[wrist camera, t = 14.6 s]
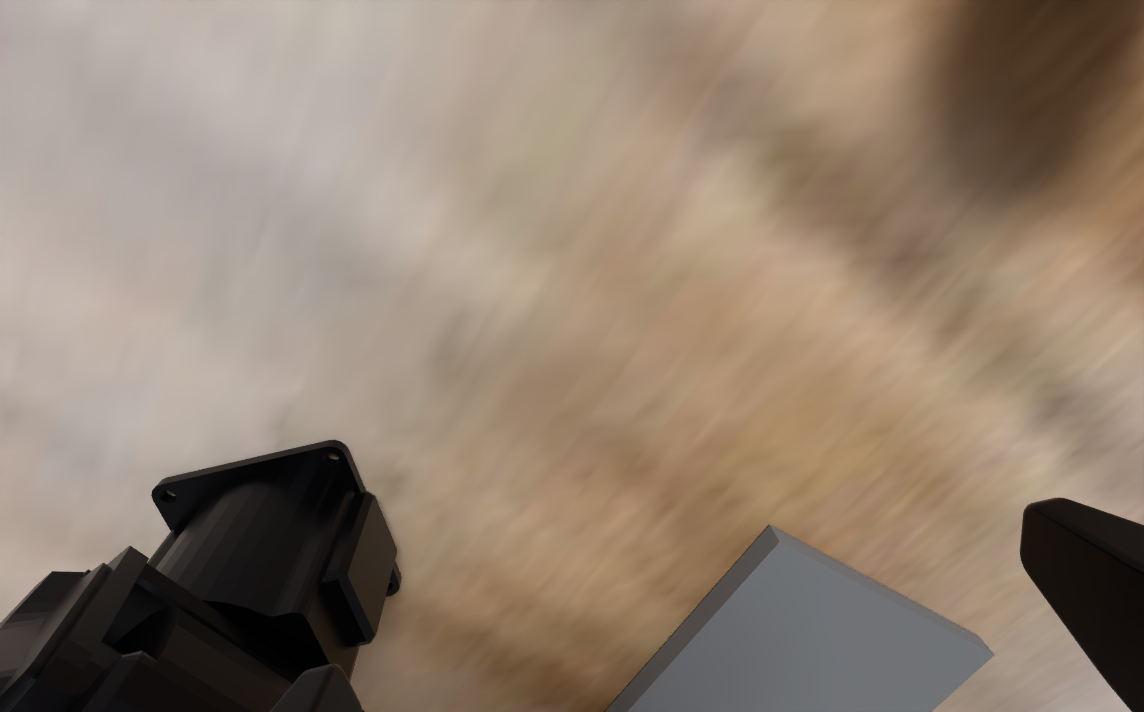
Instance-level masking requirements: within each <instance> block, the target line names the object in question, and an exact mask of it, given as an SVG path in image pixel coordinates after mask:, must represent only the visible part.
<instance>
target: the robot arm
mask: <svg viewBox="0 0 1144 712" xmlns="http://www.w3.org/2000/svg"><path fill="white" fill-rule="evenodd" d="M327 453H334V454H336V455H337V456H338V457H339V459H331V458H329V457H328V456H327ZM166 490H169V491H171V492H173V493H174V494H175V495H176V496H171V495H169V494H168V493H167V492H166ZM151 496H152V499H153V501H154V503H155V505H156V506H157V508H158V510H159V511H160V513H161V515H162V517H163V518H164V520H165V522H166V523H167V525H168V527H169V529H170V530H171V532H170V534H169V535H168V536H167V538H166V539H165V540H164V542H163V543H162V544H161V545H160V547H159V548H158V549H157V551H156V552H155V553H154V555H153V556H152V557H151V559H150V560H149V561H148V559H149V558H148V557H146V556H145V555H143V554H142V553H140V552H139V551H137V550H136V549H134V548H133V547H131V546H129V547H128V548H126V549H125V550H124V551H123V552H122V553H120V554H119V555H118V556H117V557H116V558H114V559H113V560H112V561H111V562H110V563H108V564H107V565H106V564H105V563H102V564H101V565H99V566H98V567H97V568H95V569H94V570H93V571H90V570H89V569H88V570H87V571H86V572H56V571H52V572H51V573H50V574H49V575H48V576H46V577H45V578H44V579H43V580H42V581H41V582H39V583H38V584H37V585H36V586H35V587H34V588H33V589H32V590H31V591H30V592H29V593H28V595H27V596H26V597H25V598H24V599H23V600H22V601H21V602H20V603H19V604H18V605H17V606H16V607H15V608H14V609H13V610H12V611H11V612H10V613H9V615H8V616H7V617H6V618H5V619H4V620H3V621H2V622H1V623H0V712H365V711H363V710H362V708H361V705H360V702H359V700H358V698H357V696H356V694H355V692H354V690H353V688H352V686H351V684H350V679H351V676H352V672H353V668H354V665H355V661H356V657H357V654H358V650H359V646H361V645H365V644H370V643H371V642H372V640H373V639H374V637H375V635H376V633H377V629H378V625H379V621H380V617H381V613H382V609H383V605H384V601H385V597H387V596H391V595H393V594H395V593H396V592H397V591H398V590H399V587H400V583H401V574H400V572H399V569H398V567H397V564H396V562H395V557H396V553H397V549H396V546H395V544H394V541H393V539H392V536H391V534H390V531H389V529H388V527H387V524H386V522H385V519H384V517H383V514H382V512H381V510H380V507H379V505H378V502H377V500H376V497H375V496H374V495H373V494H371V493H370V492H368V491H366V490H365V487H364V485H363V483H362V480H361V478H360V475H359V473H358V471H357V468H356V466H355V463H354V461H353V459H352V456H351V454H350V451H349V449H348V448H347V446H346V445H345V444H343V443H342V442H340V441H337V440H328V441H324V442H319V443H315V444H311V445H306V446H302V447H297V448H293V449H289V450H284V451H280V452H276V453H271V454H267V455H263V456H258V457H254V458H250V459H245V460H241V461H237V462H232V463H228V464H224V465H219V466H215V467H211V468H206V469H202V470H198V471H193V472H189V473H185V474H180V475H176V476H172V477H167V478H165V479H162V480H161V481H160V482H159V483H158V485H157V486H156V487H155V488H154V489H153V490H152V495H151ZM1020 557H1021V561H1022V564H1023V566H1024V568H1025V570H1026V572H1027V574H1028V575H1029V576H1030V578H1031V579H1032V581H1033V582H1034V583H1035V585H1036V586H1037V587H1038V589H1039V590H1040V592H1041V593H1042V594H1043V596H1044V597H1045V599H1046V600H1047V601H1048V603H1049V604H1050V605H1051V607H1052V608H1053V610H1054V611H1055V612H1056V614H1057V615H1058V616H1059V618H1060V619H1061V621H1062V622H1063V623H1064V625H1065V626H1066V627H1067V629H1068V630H1069V632H1070V633H1071V634H1072V636H1073V637H1074V638H1075V640H1076V641H1077V643H1078V644H1079V645H1080V647H1081V648H1082V649H1083V651H1084V652H1085V654H1086V655H1087V656H1088V658H1089V659H1090V660H1091V662H1092V663H1093V665H1094V666H1095V667H1096V668H1097V670H1098V671H1099V672H1100V674H1101V675H1102V676H1103V678H1104V679H1105V680H1106V681H1107V683H1108V684H1109V685H1110V686H1111V688H1112V689H1113V690H1114V691H1115V692H1116V694H1117V695H1118V696H1119V697H1120V698H1121V700H1122V701H1123V702H1124V703H1125V704H1126V706H1127V707H1128V708H1129V709H1130V710H1131V711H1132V712H1144V525H1142V524H1139V523H1136V522H1133V521H1130V520H1127V519H1124V518H1121V517H1118V516H1115V515H1113V514H1110V513H1107V512H1104V511H1101V510H1098V509H1095V508H1092V507H1089V506H1086V505H1084V504H1081V503H1078V502H1075V501H1072V500H1069V499H1065V498H1052V499H1048V500H1043V501H1039V502H1035V503H1031V504H1029V505H1028V506H1027V507H1026V508H1025V510H1024V513H1023V522H1022V534H1021V545H1020ZM147 561H148V563H147ZM389 581H390V582H391V583H389Z"/></svg>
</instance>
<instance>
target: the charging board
mask: <svg viewBox="0 0 1144 712" xmlns="http://www.w3.org/2000/svg"><path fill="white" fill-rule="evenodd" d="M993 656H994V654H993V652H992V651H991V650H990V649H989V648H988V646H987V645H986V644H985V643H984V642H983V640H982V639H981V638H980V637H979V636H978V635H976V634H974V633H972V632H970V631H969V630H967V629H965V628H963V627H961V626H959V625H957V624H955V623H953V622H952V621H950V620H948V619H946V618H944V617H942V616H940V615H938V614H937V613H935V612H933V611H931V610H929V609H927V608H925V607H923V606H922V605H920V604H918V603H916V602H914V601H912V600H910V599H908V598H907V597H905V596H903V595H901V594H899V593H897V592H895V591H893V590H891V589H890V588H888V587H886V586H884V585H882V584H880V583H878V582H876V581H875V580H873V579H871V578H869V577H867V576H865V575H863V574H861V573H860V572H858V571H856V570H854V569H852V568H850V567H848V566H846V565H844V564H843V563H841V562H839V561H837V560H835V559H833V558H831V557H829V556H828V555H826V554H824V553H822V552H820V551H818V550H816V549H814V548H813V547H811V546H809V545H807V544H805V543H803V542H801V541H799V540H798V539H796V538H794V537H792V536H790V535H788V534H786V533H784V532H782V531H781V530H779V529H777V528H775V527H773V526H771V525H769V526H768V527H767V528H766V529H765V530H764V532H763V533H762V534H761V535H760V536H759V537H758V538H757V539H756V541H755V542H754V543H753V544H752V545H751V546H750V547H749V549H748V550H747V551H746V552H745V553H744V554H743V555H742V557H741V558H740V559H739V560H738V561H737V562H736V563H735V564H734V566H733V567H732V568H731V569H730V570H729V571H728V572H727V574H726V575H725V576H724V577H723V578H722V579H721V580H720V581H719V583H718V584H717V585H716V586H715V587H714V588H713V589H712V591H711V592H710V593H709V594H708V595H707V596H706V597H705V599H704V600H703V601H702V602H701V603H700V604H699V605H698V606H697V608H696V609H695V610H694V611H693V612H692V613H691V614H690V616H689V617H688V618H687V619H686V620H685V621H684V622H683V623H682V625H681V626H680V627H679V628H678V629H677V630H676V631H675V633H674V634H673V635H672V636H671V637H670V638H669V639H668V641H667V642H666V643H665V644H664V645H663V646H662V647H661V648H660V650H659V651H658V652H657V653H656V654H655V655H654V656H653V658H652V659H651V660H650V661H649V662H648V663H647V664H646V665H645V667H644V668H643V669H642V670H641V671H640V672H639V673H638V675H637V676H636V677H635V678H634V679H633V680H632V681H631V682H630V684H629V685H628V686H627V687H626V688H625V689H624V690H623V692H622V693H621V694H620V695H619V696H618V697H617V698H616V700H615V701H614V702H613V703H612V704H611V705H610V706H609V707H608V709H607V710H606V711H605V712H932V711H933V710H934V709H935V708H936V707H937V706H938V705H939V704H940V703H942V702H943V701H944V700H945V699H946V698H947V697H948V696H949V695H950V694H952V693H953V692H954V691H955V690H956V689H957V688H958V687H959V686H960V685H962V684H963V683H964V682H965V681H966V680H967V679H968V678H969V677H970V676H972V675H973V674H974V673H975V672H976V671H977V670H978V669H979V668H980V667H982V666H983V665H984V664H985V663H986V662H987V661H988V660H989V659H990V658H992V657H993Z"/></svg>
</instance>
